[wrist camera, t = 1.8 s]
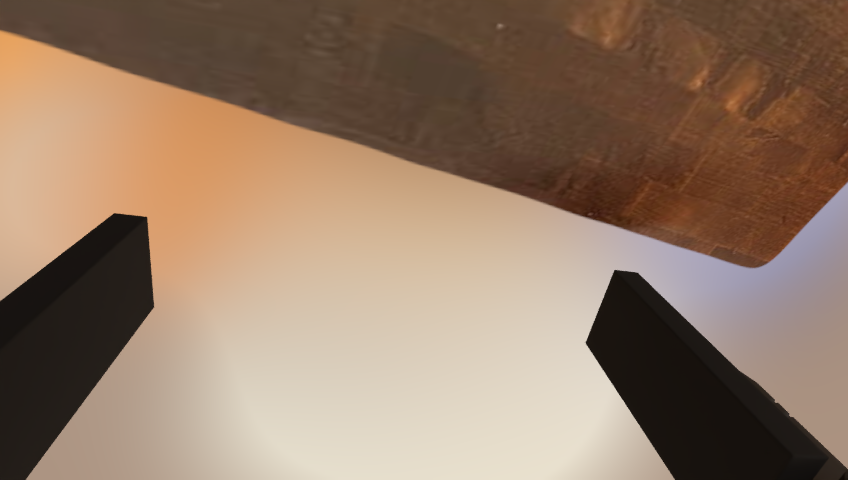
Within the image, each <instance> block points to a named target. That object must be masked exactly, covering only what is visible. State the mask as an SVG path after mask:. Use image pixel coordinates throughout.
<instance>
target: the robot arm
mask: <svg viewBox="0 0 848 480" xmlns="http://www.w3.org/2000/svg"><path fill="white" fill-rule="evenodd" d="M153 308H154V301H153V288H152V275H151V262H150V249H149V236H148V223H147V217H142V216H134V215H124V214H116V213H114V214H113V215H112V216H110V217H109V218H108V219H106V220H105V221H104V222H103V223H101V224H100V225H98V226H97V227H96V228H95V229H93V230H92V231H91V232H90V233H88V234H87V235H86V236H84V237H83V238H82V239H80V240H79V241H78V242H76V243H75V244H74V245H73V246H71V247H70V248H69V249H67V250H66V251H65V252H63V253H62V254H61V255H60V256H58V257H57V258H56V259H54V260H53V261H52V262H51V263H49V264H48V265H47V266H46V267H44V268H43V269H41V270H40V271H39V272H37V273H36V274H35V275H34V276H32V277H31V278H30V279H28V280H27V281H26V282H25V283H23V284H22V285H21V286H19V287H18V288H17V289H15V290H14V291H13V292H12V293H10V294H9V295H8V296H6V297H5V298H4V299H3V300H1V301H0V480H26V478H27V477H28V476H29V474H30V473H31V472H32V470H33V469H34V468H35V466H36V465H37V463H38V462H39V461H40V460H41V458H42V457H43V456H44V454H45V453H46V451H47V450H48V449H49V447H50V446H51V444H52V443H53V442H54V441H55V439H56V438H57V437H58V435H59V434H60V433H61V431H62V430H63V429H64V427H65V426H66V425H67V423H68V422H69V421H70V419H71V418H72V416H73V415H74V414H75V413H76V411H77V410H78V408H79V407H80V406H81V404H82V403H83V402H84V400H85V399H86V398H87V396H88V395H89V394H90V392H91V391H92V389H93V388H94V387H95V386H96V384H97V383H98V382H99V380H100V379H101V378H102V376H103V375H104V374H105V372H106V371H107V370H108V368H109V367H110V365H111V364H112V363H113V361H114V360H115V359H116V357H117V356H118V355H119V353H120V352H121V351H122V349H123V348H124V347H125V345H126V344H127V343H128V341H129V340H130V338H131V337H132V336H133V335H134V333H135V332H136V330H137V329H138V328H139V326H140V325H141V324H142V322H143V321H144V320H145V318H146V317H147V316H148V314H149V313H150V312H151V310H152V309H153ZM586 344H587V346H588V348H589V349H590V350H591V352H592V353H593V355H594V356H595V358H596V360H597V361H598V363H599V364H600V366H601V367H602V369H603V370H604V372H605V373H606V375H607V377H608V378H609V380H610V381H611V383H612V384H613V385H614V387H615V389H616V390H617V392H618V393H619V395H620V396H621V398H622V399H623V401H624V402H625V404H626V405H627V407H628V409H629V410H630V412H631V413H632V415H633V416H634V418H635V419H636V421H637V422H638V424H639V425H640V427H641V428H642V430H643V431H644V433H645V434H646V436H647V438H648V439H649V440H650V442H651V443H652V445H653V447H654V448H655V450H656V451H657V453H658V454H659V456H660V457H661V459H662V460H663V462H664V463H665V465H666V467H667V468H668V470H669V471H670V473H671V474H672V476H673V477H674V479H675V480H848V469H847V468H846V467H845V466H844V465H843V464H842V463H841V462H840V461H839V460H838V459H836V458H835V457H834V456H833V455H832V454H831V453H830V452H829V451H828V450H827V449H826V448H825V447H824V446H823V445H822V444H821V443H820V442H819V441H818V440H816V439H815V438H814V437H813V436H812V435H811V434H810V433H809V432H808V431H807V430H806V429H805V428H804V427H803V426H802V425H801V424H800V423H799V422H797V421H796V419H794V418H793V417H790V416H789V413H788V412H787V411H786V410H785V409H784V408H783V407H782V406H781V405H780V404H779V403H775V402H774V401H775V400H774V399H773V398H772V397H771V396H770V395H769V394H768V393H767V392H766V391H765V390H764V389H763V388H762V387H761V386H760V385H759V384H757V383H756V382H755V381H753V380H752V379H751V378H749V377H748V376H746V375H745V374H743V373H742V372H740V371H739V370H738V369H737V368H736V367H735V366H734V365H732V363H731V362H729V361H728V360H727V359H726V358H725V357H724V356H723V355H722V354H721V353H720V352H719V351H718V350H717V349H716V348H715V347H714V346H713V345H712V344H711V343H710V342H709V341H708V340H707V339H706V338H705V337H704V336H702V335H701V334H700V333H699V332H698V331H697V330H696V329H695V328H694V327H693V326H692V325H691V324H690V323H689V322H688V321H687V320H686V319H685V318H684V317H683V316H682V315H681V314H680V313H679V312H678V311H677V310H676V309H674V308H673V307H672V306H671V305H670V304H669V303H668V302H667V301H666V300H665V299H664V298H663V297H662V296H661V295H660V294H659V293H658V292H657V291H656V290H655V289H654V288H653V287H652V286H651V285H650V284H649V283H648V282H647V281H646V280H645V279H643V278H642V277H641V276H640V275H639V274H638V273H635V272H628V271H619V270H614V273H613V275H612V278H611V280H610V283H609V286H608V288H607V290H606V293H605V295H604V298H603V300H602V303H601V306H600V308H599V311H598V313H597V316H596V318H595V321H594V323H593V326H592V328H591V331H590V333H589V336H588V338H587V341H586Z"/></svg>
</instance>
